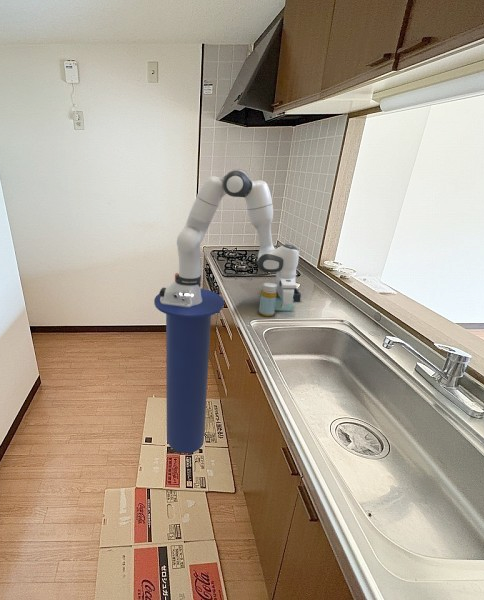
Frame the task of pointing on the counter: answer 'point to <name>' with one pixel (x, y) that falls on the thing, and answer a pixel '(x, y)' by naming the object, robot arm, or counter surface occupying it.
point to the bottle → (268, 299)
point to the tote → (295, 295)
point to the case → (279, 302)
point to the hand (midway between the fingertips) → (281, 305)
